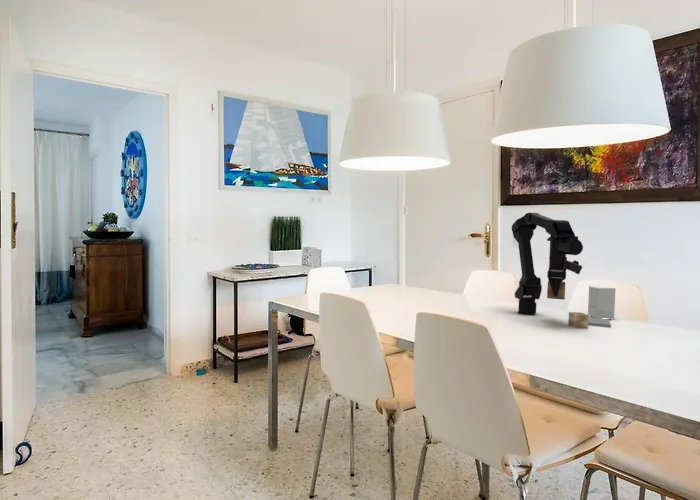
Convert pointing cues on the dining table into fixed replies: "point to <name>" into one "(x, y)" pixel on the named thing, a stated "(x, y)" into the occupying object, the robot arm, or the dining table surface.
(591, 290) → the supplement box
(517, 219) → the robot arm
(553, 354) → the dining table surface
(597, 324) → the plate
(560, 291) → the walnut cube
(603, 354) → the dining table surface
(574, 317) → the oak cube
